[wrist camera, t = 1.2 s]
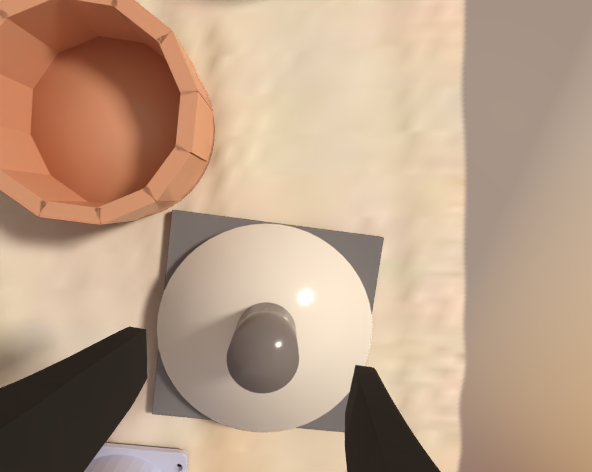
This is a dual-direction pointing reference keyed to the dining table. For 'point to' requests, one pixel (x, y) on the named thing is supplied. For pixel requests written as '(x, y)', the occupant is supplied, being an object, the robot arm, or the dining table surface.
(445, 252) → the dining table surface
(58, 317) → the dining table surface
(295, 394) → the lid
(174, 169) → the bowl
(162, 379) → the mat
